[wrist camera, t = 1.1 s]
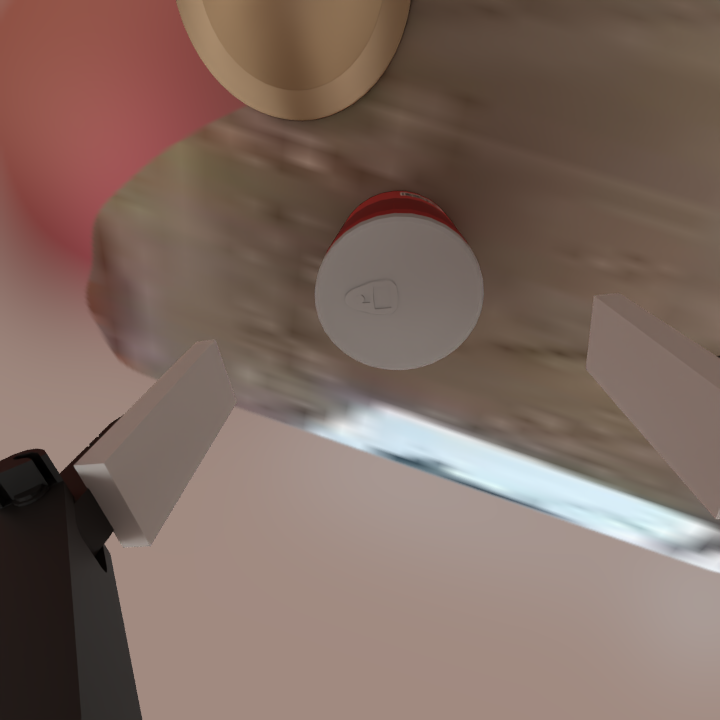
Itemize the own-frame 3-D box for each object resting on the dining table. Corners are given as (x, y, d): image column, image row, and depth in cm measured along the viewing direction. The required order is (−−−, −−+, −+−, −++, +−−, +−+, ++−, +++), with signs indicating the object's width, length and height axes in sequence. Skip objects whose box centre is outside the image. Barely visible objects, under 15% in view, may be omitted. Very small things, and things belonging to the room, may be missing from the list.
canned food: (323, 213, 28) (286, 251, 18) (437, 169, 26) (462, 185, 17) (361, 313, 31) (347, 389, 22) (465, 279, 30) (501, 346, 20)
